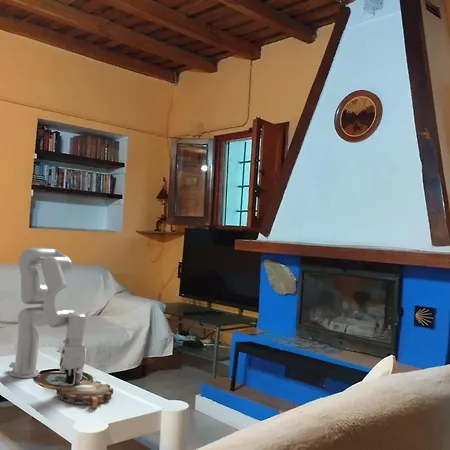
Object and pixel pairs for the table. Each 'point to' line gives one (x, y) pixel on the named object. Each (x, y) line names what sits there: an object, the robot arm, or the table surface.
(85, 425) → the table surface
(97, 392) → the sprocket
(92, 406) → the sprocket stand
